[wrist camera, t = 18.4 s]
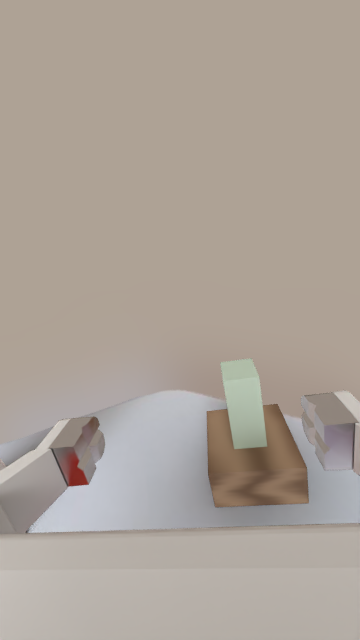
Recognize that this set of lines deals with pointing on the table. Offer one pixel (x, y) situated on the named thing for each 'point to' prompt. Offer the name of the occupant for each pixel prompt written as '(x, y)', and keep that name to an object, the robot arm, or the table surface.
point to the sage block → (244, 403)
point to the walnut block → (255, 464)
